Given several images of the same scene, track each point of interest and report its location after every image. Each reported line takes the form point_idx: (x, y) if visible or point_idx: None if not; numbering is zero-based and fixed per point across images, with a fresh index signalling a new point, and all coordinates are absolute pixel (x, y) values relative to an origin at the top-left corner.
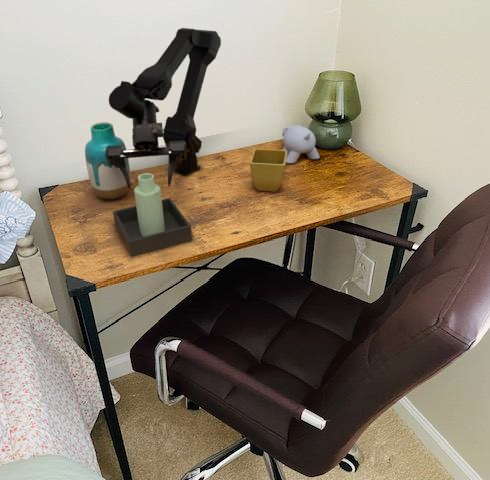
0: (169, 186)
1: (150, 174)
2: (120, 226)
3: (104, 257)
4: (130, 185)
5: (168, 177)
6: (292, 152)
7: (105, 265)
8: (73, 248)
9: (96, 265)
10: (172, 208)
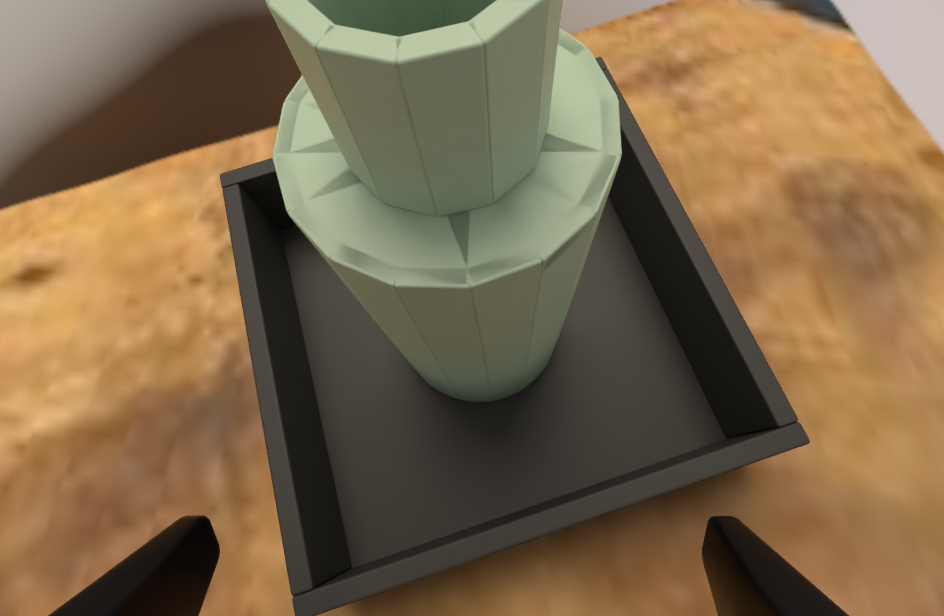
0: (208, 546)
1: (312, 5)
2: (688, 221)
3: (725, 138)
4: (724, 596)
5: (122, 593)
6: None
7: (703, 84)
8: (939, 227)
9: (749, 86)
10: (308, 483)
